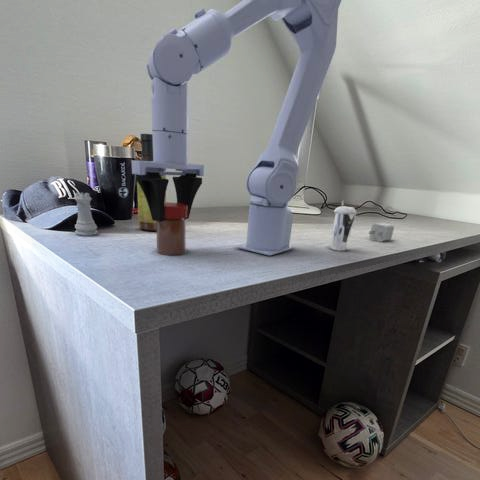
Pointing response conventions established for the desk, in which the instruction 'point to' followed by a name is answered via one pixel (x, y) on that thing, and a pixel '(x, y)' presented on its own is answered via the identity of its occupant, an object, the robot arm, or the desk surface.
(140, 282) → the desk surface
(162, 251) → the jar
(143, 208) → the sauce bottle
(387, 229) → the usb wall charger
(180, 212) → the cap
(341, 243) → the milkshake
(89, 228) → the rook chess piece
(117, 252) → the desk surface
